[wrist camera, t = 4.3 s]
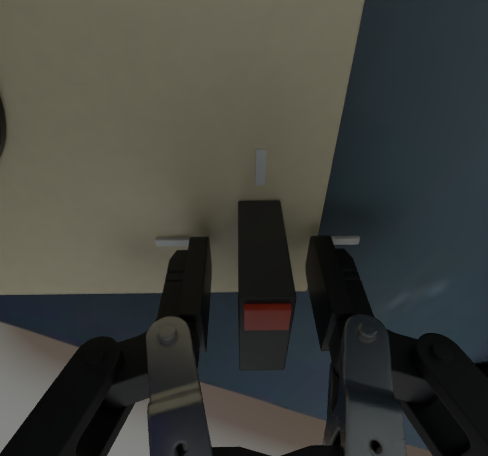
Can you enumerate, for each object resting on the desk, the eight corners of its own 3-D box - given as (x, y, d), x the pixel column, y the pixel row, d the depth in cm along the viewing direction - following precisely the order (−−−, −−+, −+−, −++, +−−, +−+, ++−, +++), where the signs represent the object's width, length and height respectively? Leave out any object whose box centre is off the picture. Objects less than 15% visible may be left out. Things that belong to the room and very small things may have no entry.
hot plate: (-29, 267, 18) (-62, 307, 16) (-335, -117, 9) (-509, -133, 7) (328, 263, 19) (340, 302, 17) (422, -115, 9) (476, -129, 7)
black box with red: (273, 273, 15) (285, 377, 12) (238, 274, 15) (239, 378, 12) (280, 199, 12) (298, 305, 9) (237, 200, 12) (238, 306, 9)
